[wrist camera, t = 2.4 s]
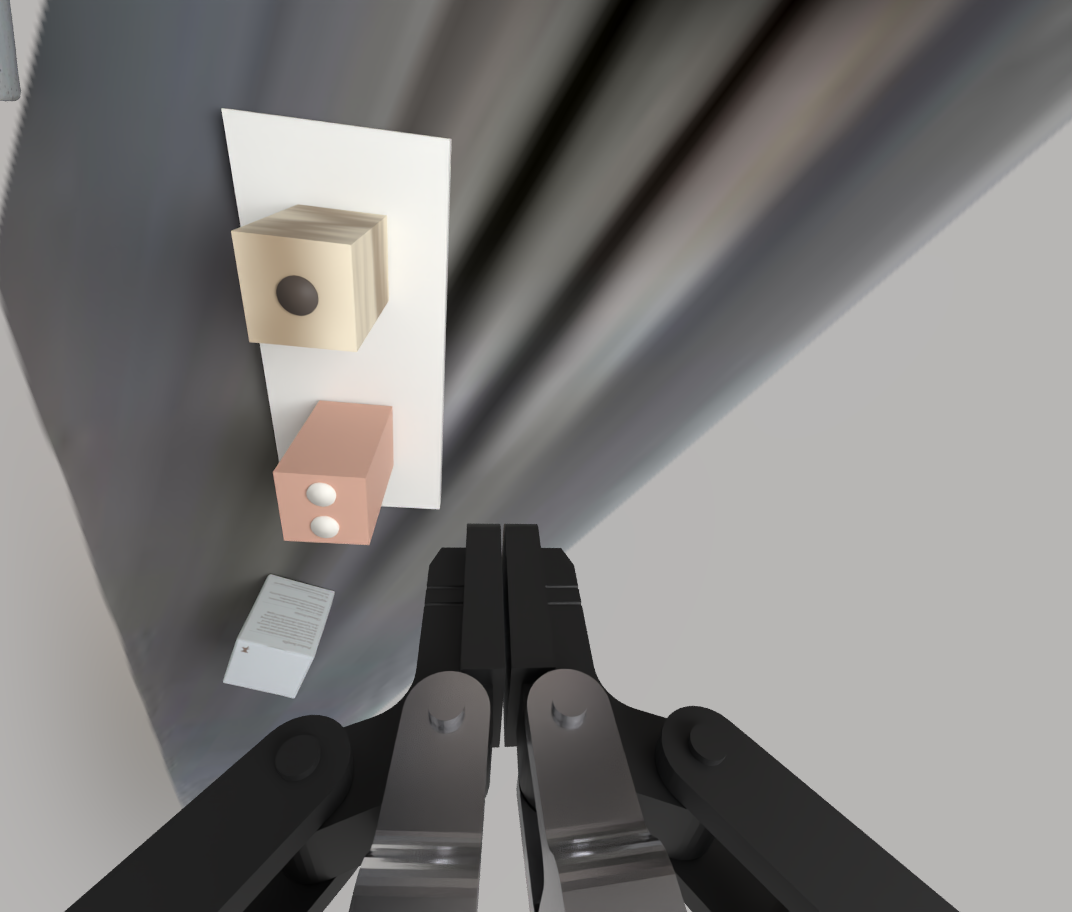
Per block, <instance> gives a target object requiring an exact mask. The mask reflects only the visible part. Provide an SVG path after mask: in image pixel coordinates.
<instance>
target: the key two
mask: <svg viewBox="0 0 1072 912" xmlns="http://www.w3.org/2000/svg"><path fill="white" fill-rule="evenodd" d="M393 466H394V459H393V407H392V406H381V405H369V404H357V403H345V402H333V401H321V400H319V402H318V403H317V405H316V406H315V408H314V409H313V411H312V413H311V414H310V416H309V417H308V419H307V420H306V422H305V423H304V425H303V426H302V428H301V430H300V431H299V433H298V434H297V436H296V437H295V439H294V440H293V442H292V443H291V445H290V446H289V448H288V450H287V451H286V453H285V454H284V456H283V457H282V459H281V460H280V462H279V463H278V465H277V467H276V468H275V470H274V471H273V475H274V482H275V488H276V494H277V500H278V506H279V512H280V518H281V524H282V530H283V536H284V541H302V542H321V543H340V544H360V545H369V544H370V541H371V538H372V534H373V531H374V528H375V525H376V521H377V518H378V515H379V511H380V508H381V505H382V502H383V498H384V495H385V492H386V489H387V485H388V482H389V479H390V475H391V472H392V469H393Z"/></svg>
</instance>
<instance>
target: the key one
mask: <svg viewBox="0 0 1072 912" xmlns="http://www.w3.org/2000/svg"><path fill="white" fill-rule="evenodd" d="M231 234H232V240H233V246H234V252H235V258H236V264H237V270H238V276H239V282H240V288H241V294H242V300H243V306H244V312H245V318H246V324H247V330H248V336H249V342H254V343H265V344H275V345H286V346H297V347H307V348H318V349H328V350H339V351H350V352H357V351H358V350H359V348H360V346H361V345H362V343H363V342H364V340H365V338H366V337H367V335H368V334H369V332H370V330H371V329H372V327H373V325H374V324H375V322H376V321H377V319H378V317H379V316H380V314H381V313H382V311H383V309H384V308H385V306H386V305H387V303H388V301H389V281H388V233H387V215H379V214H371V213H363V212H355V211H347V210H339V209H331V208H323V207H315V206H307V205H299V204H298V205H295V206H293V207H290V208H288V209H285V210H283V211H280V212H277V213H275V214H272V215H270V216H267V217H265V218H262V219H260V220H257V221H255V222H252V223H250V224H247V225H245V226H242V227H239V228H237V229H234V230H232V231H231Z"/></svg>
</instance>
